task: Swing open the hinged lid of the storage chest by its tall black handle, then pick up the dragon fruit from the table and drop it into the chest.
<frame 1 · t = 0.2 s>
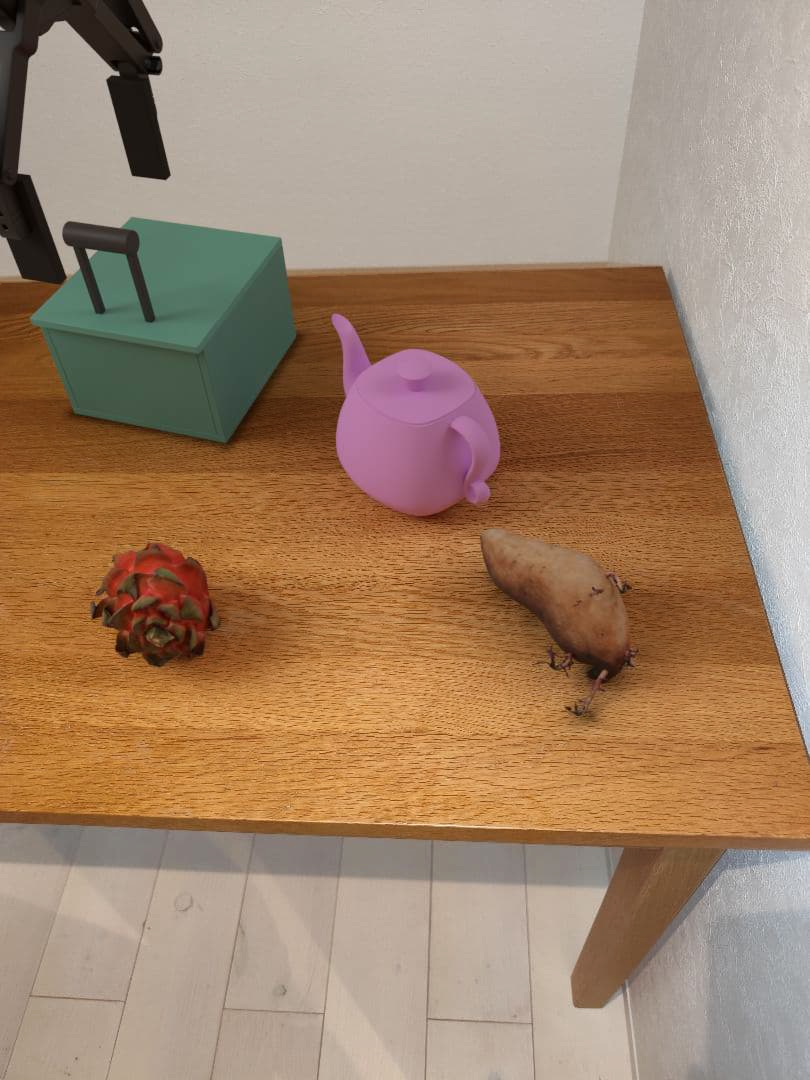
hand: (102, 224, 59), 27 cm above the table, tool pointing down, fingers open, 13 cm apart
storage chest: (189, 373, 92), on the table
dragon fruit: (166, 630, 70), on the table
vegetable: (537, 631, 69), on the table
teapot: (410, 466, 82), on the table
chest lid: (151, 237, 80), point 16 cm above the table, hinge at 0.0°
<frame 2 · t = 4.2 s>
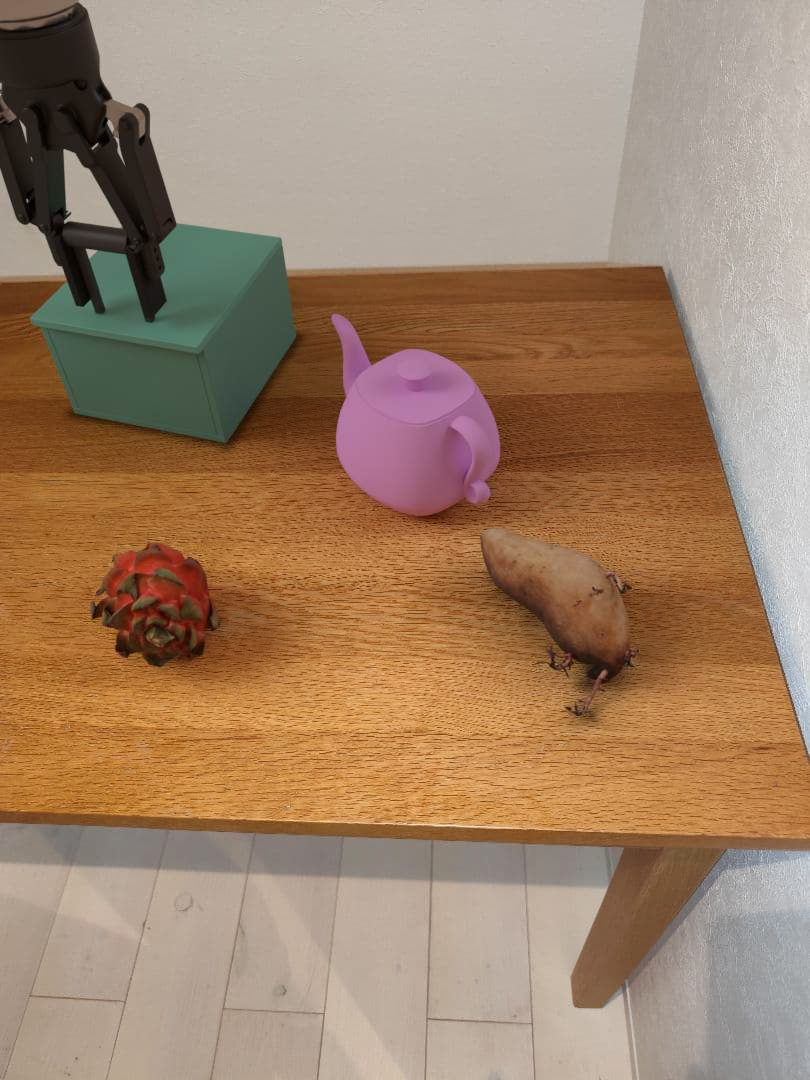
hand: (121, 303, 78), 13 cm above the table, tool pointing down, fingers closed on chest lid, 6 cm apart
chest lid: (151, 237, 80), point 15 cm above the table, hinge at 0.0°, touching gripper
everything else where it was.
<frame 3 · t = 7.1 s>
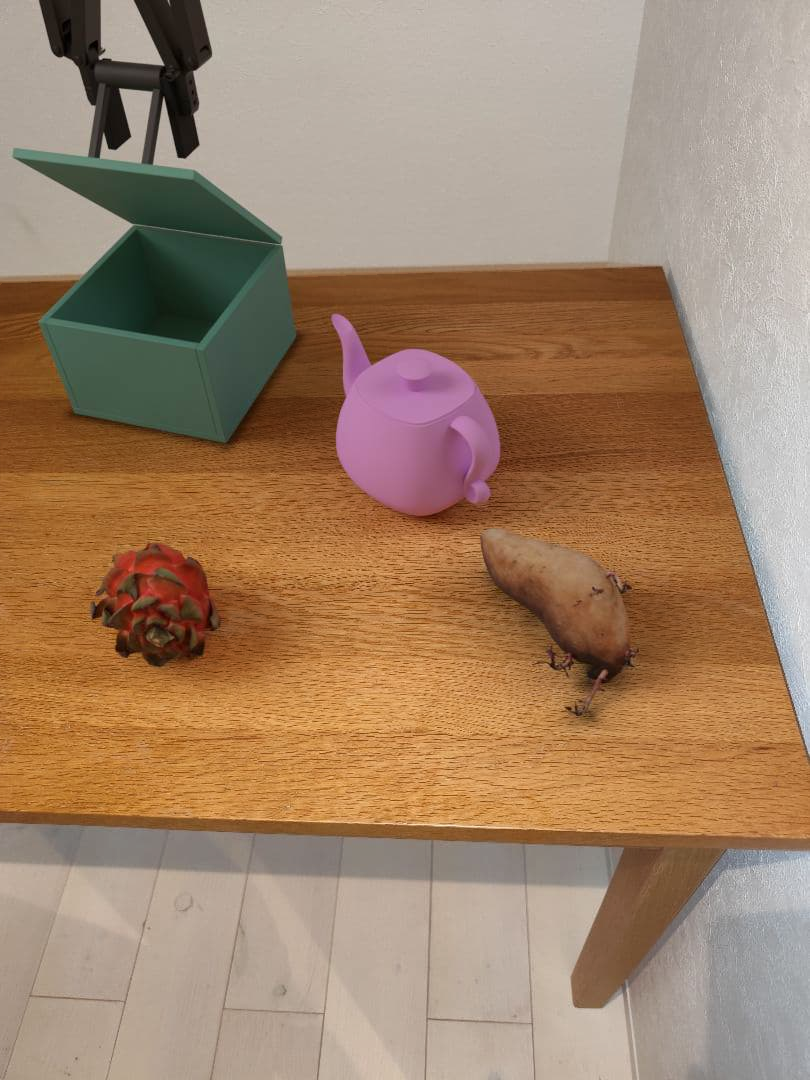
hand: (154, 146, 78), 22 cm above the table, tool pointing down, fingers closed on chest lid, 6 cm apart
chest lid: (166, 152, 80), point 21 cm above the table, hinge at 44.5°, touching gripper
everything else where it was.
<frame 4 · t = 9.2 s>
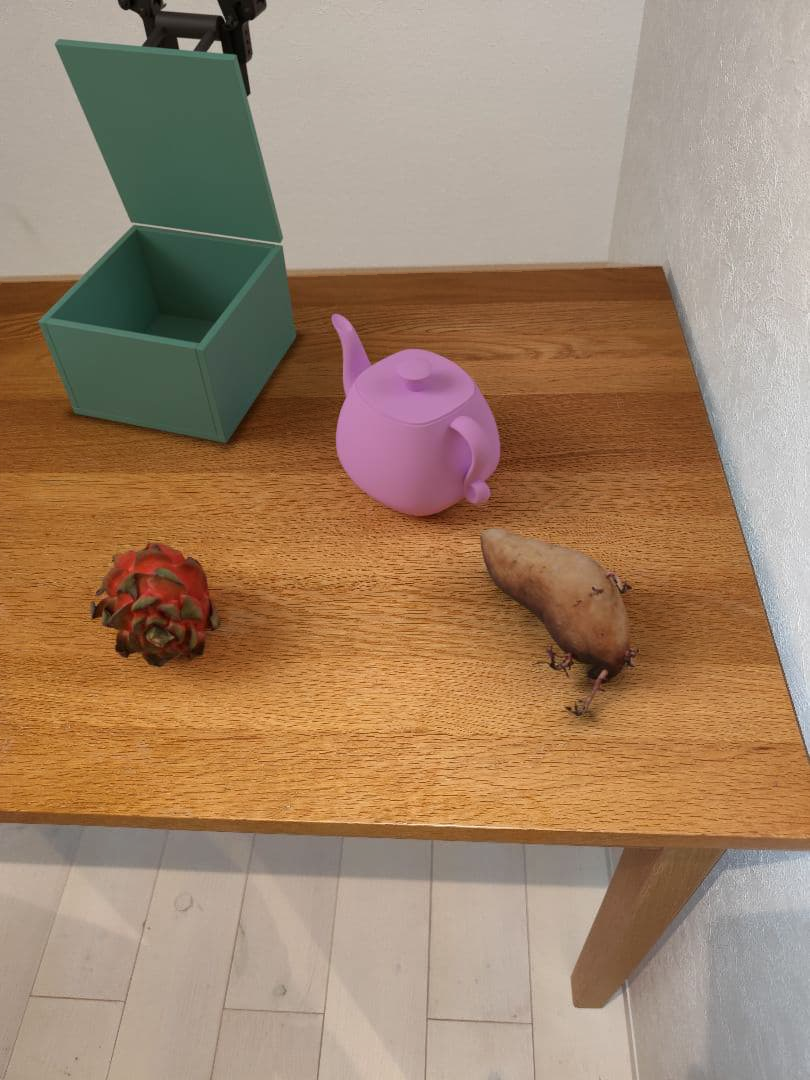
hand: (208, 94, 85), 22 cm above the table, tool pointing down, fingers closed on chest lid, 6 cm apart
chest lid: (196, 120, 83), point 21 cm above the table, hinge at 79.1°, touching gripper
everything else where it was.
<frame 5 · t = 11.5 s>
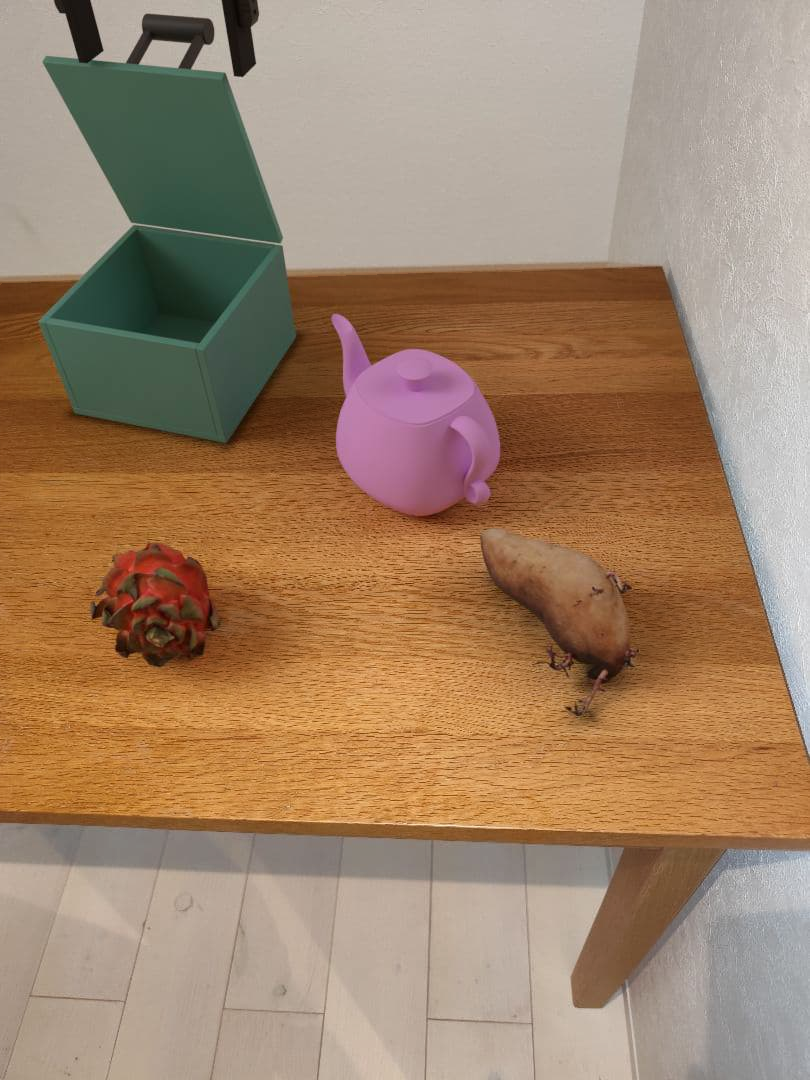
hand: (167, 64, 72), 29 cm above the table, tool pointing down, fingers open, 13 cm apart
chest lid: (189, 123, 82), point 21 cm above the table, hinge at 71.8°, touching gripper
everything else where it was.
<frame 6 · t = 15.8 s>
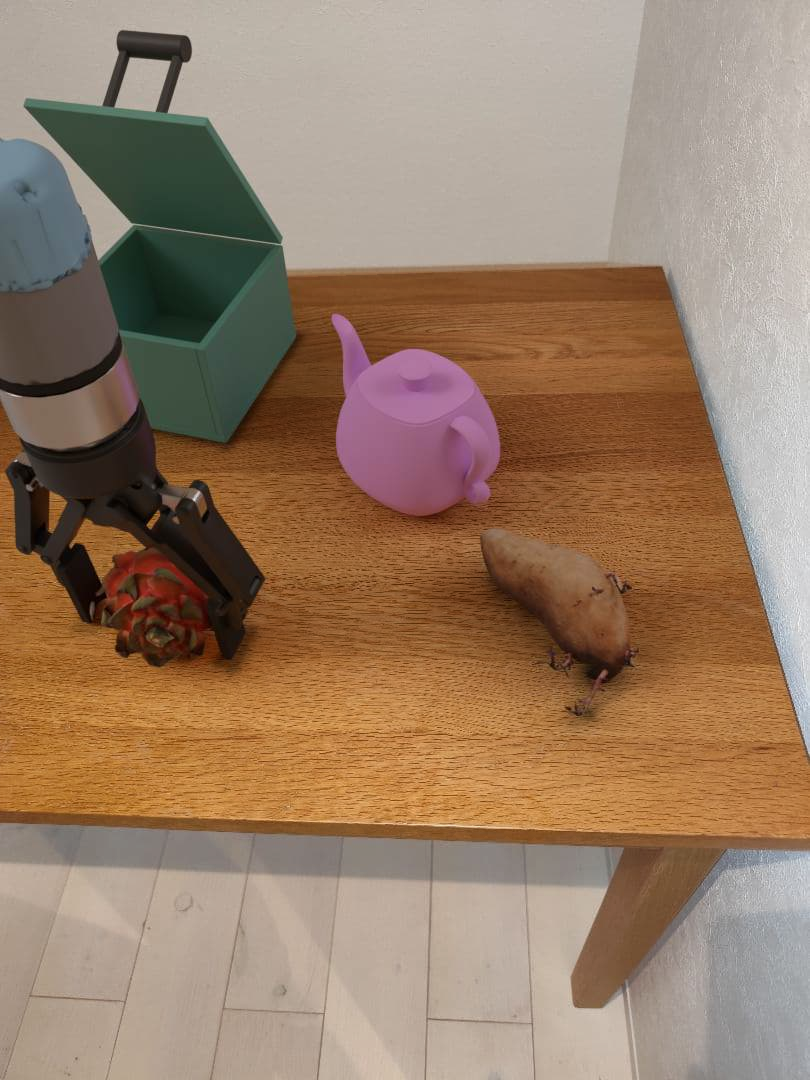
hand: (163, 627, 70), 0 cm above the table, tool pointing down, fingers closed on dragon fruit, 11 cm apart
dragon fruit: (166, 630, 70), on the table, touching gripper
chest lid: (177, 134, 81), point 21 cm above the table, hinge at 57.9°
everything else where it was.
when the fingers open (9 cm above the table, at t = 24.2 s): dragon fruit drops 8 cm, resting on storage chest.
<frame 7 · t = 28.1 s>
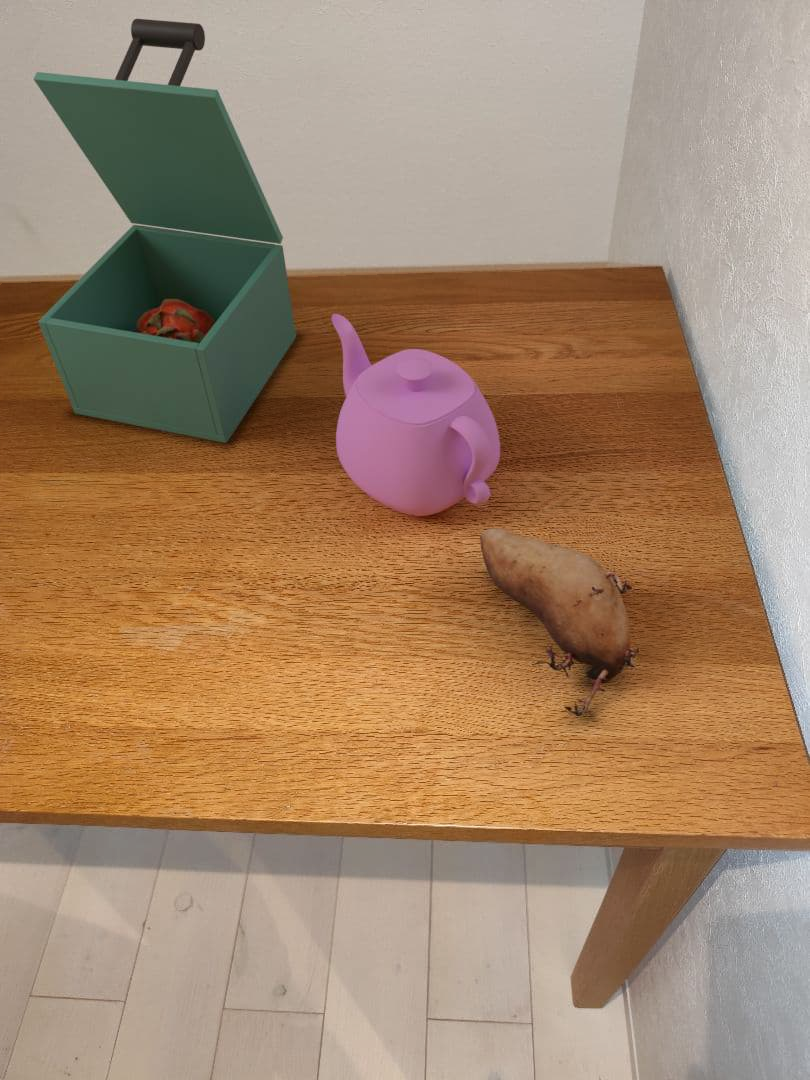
dragon fruit: (183, 373, 91), point 1 cm above the table, touching storage chest
chest lid: (184, 127, 82), point 21 cm above the table, hinge at 66.0°
everything else where it was.
at the end: chest lid at +66° (first picture: +0°); dragon fruit inside the target area in the storage chest (0.9 cm from its centre), point 0.6 cm above the storage chest's base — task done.
